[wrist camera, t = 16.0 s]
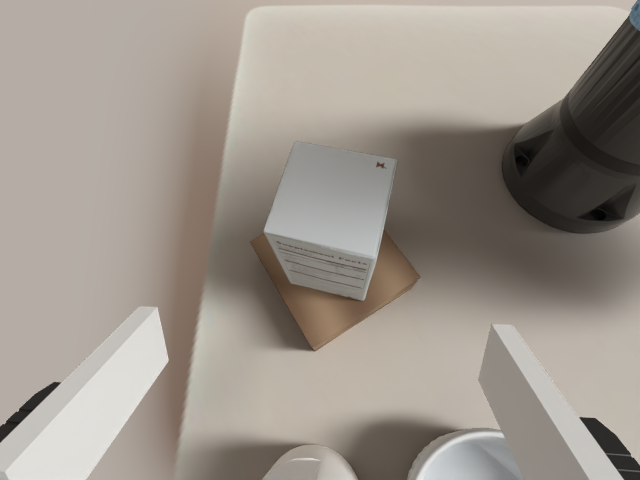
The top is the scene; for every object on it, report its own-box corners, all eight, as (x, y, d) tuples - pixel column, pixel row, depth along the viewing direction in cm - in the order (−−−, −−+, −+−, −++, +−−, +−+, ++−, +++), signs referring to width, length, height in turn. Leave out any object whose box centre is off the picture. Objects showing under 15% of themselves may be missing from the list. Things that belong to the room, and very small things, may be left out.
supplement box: (309, 217, 35) (294, 135, 23) (380, 233, 34) (402, 156, 22) (287, 285, 32) (258, 231, 21) (364, 304, 31) (379, 260, 20)
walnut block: (348, 207, 41) (349, 185, 36) (410, 289, 37) (420, 276, 32) (260, 258, 39) (249, 241, 34) (315, 351, 35) (311, 347, 30)
